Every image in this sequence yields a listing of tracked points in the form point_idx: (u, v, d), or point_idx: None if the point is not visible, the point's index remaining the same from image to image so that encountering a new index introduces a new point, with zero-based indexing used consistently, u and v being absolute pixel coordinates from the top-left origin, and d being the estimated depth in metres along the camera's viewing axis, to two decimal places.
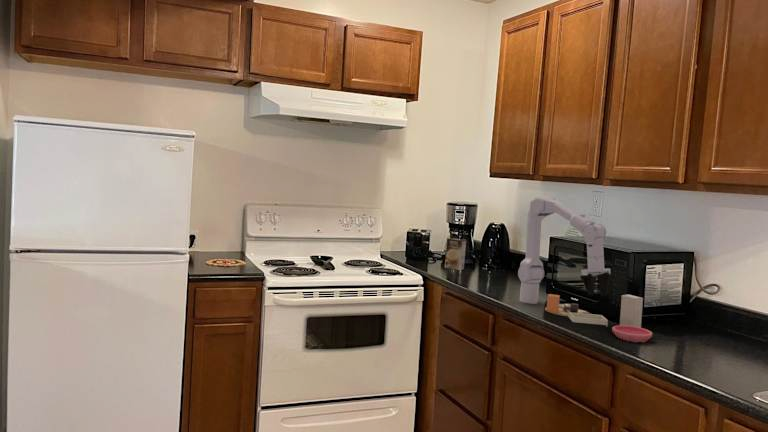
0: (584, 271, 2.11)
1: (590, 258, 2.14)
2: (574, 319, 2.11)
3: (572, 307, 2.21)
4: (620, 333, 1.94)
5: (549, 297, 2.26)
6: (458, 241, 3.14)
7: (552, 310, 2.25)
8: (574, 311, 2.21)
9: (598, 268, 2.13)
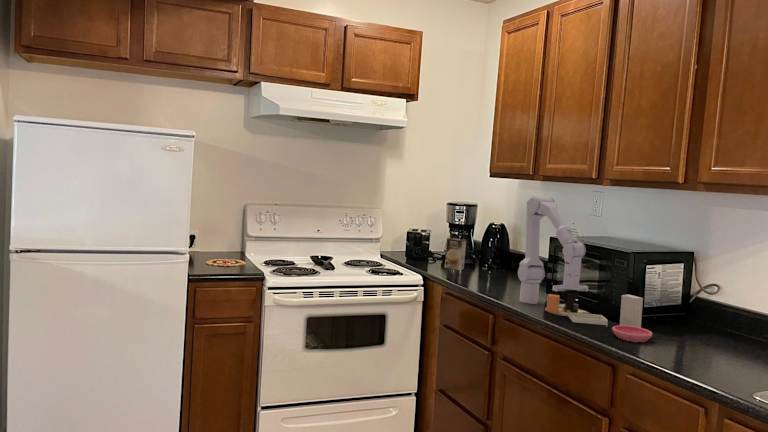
0: (554, 287, 2.18)
1: (565, 275, 2.20)
2: (574, 319, 2.11)
3: (572, 307, 2.21)
4: (620, 333, 1.94)
5: (549, 297, 2.26)
6: (458, 241, 3.14)
7: (552, 310, 2.25)
8: (574, 311, 2.21)
9: (570, 286, 2.18)
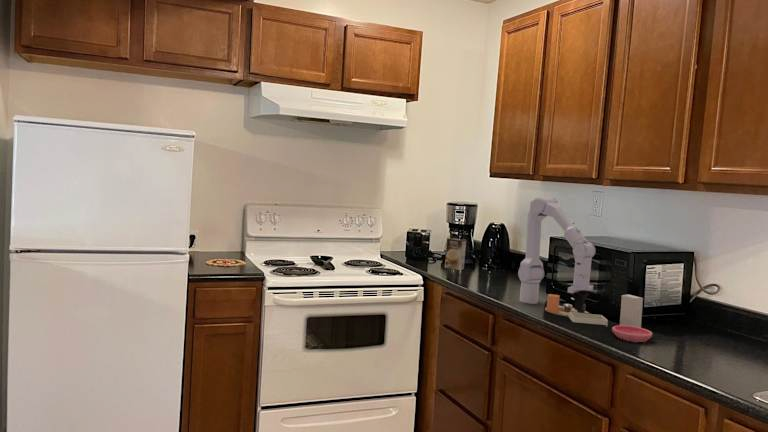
0: (570, 289, 2.16)
1: (577, 276, 2.19)
2: (574, 319, 2.11)
3: None
4: (620, 333, 1.94)
5: (549, 297, 2.26)
6: (458, 241, 3.14)
7: (552, 310, 2.25)
8: (583, 311, 2.22)
9: (583, 286, 2.18)
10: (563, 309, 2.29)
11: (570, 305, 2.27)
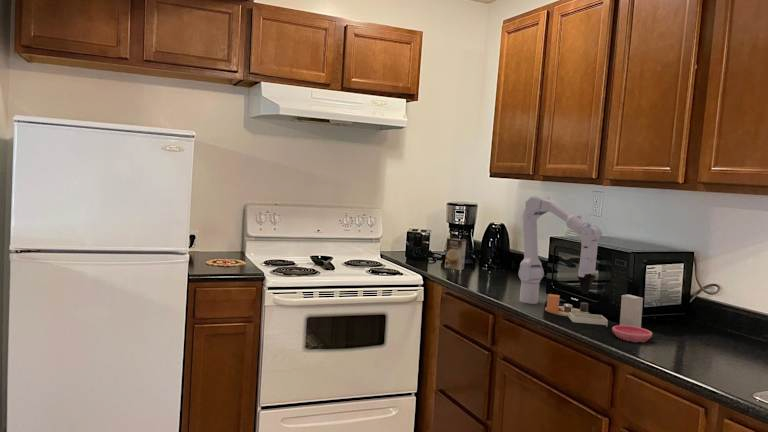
0: (582, 273, 2.16)
1: (585, 259, 2.19)
2: (574, 319, 2.11)
3: (586, 306, 2.24)
4: (620, 333, 1.94)
5: (549, 297, 2.26)
6: (458, 241, 3.14)
7: (552, 310, 2.25)
8: (587, 310, 2.24)
9: (591, 270, 2.19)
10: (562, 309, 2.29)
11: (571, 305, 2.27)
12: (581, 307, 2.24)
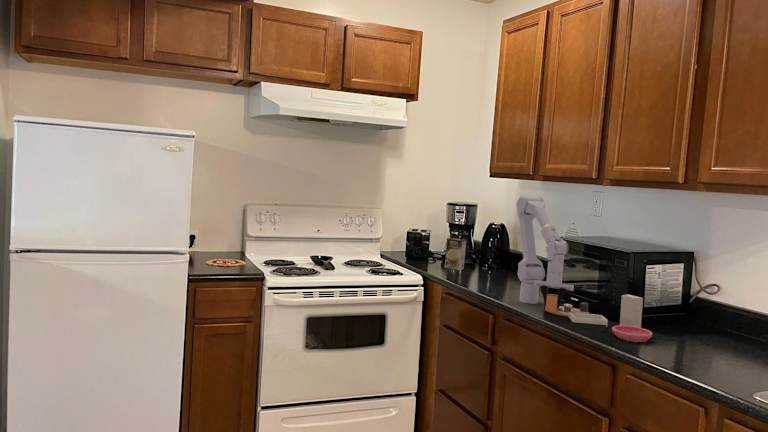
0: (534, 282, 2.29)
1: None
2: (574, 319, 2.11)
3: (586, 306, 2.24)
4: (620, 333, 1.94)
5: (548, 297, 2.26)
6: (458, 241, 3.14)
7: (551, 310, 2.26)
8: (587, 310, 2.24)
9: (548, 282, 2.25)
10: (562, 309, 2.29)
11: (571, 305, 2.27)
12: (581, 307, 2.24)
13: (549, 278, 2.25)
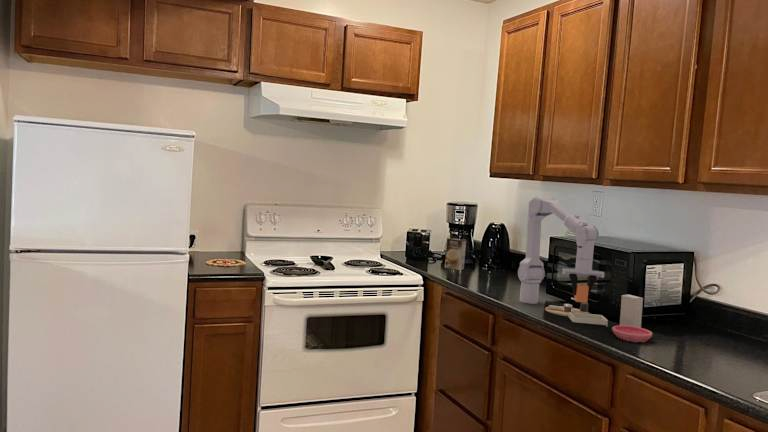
0: (562, 270, 2.17)
1: (576, 258, 2.16)
2: (574, 319, 2.11)
3: (586, 306, 2.24)
4: (620, 333, 1.94)
5: (579, 287, 2.14)
6: (458, 241, 3.14)
7: (582, 300, 2.15)
8: (587, 310, 2.24)
9: (579, 270, 2.14)
10: (562, 309, 2.29)
11: (571, 305, 2.27)
12: (581, 307, 2.24)
13: (580, 265, 2.14)
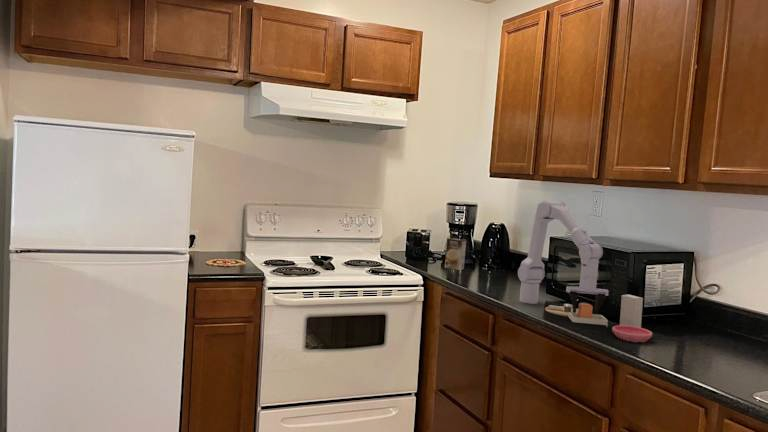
0: (567, 288, 2.15)
1: (580, 276, 2.14)
2: (574, 319, 2.11)
3: None
4: (620, 333, 1.94)
5: (583, 307, 2.13)
6: (458, 241, 3.14)
7: None
8: None
9: (584, 288, 2.12)
10: (562, 309, 2.29)
11: (571, 305, 2.27)
12: None
13: (585, 284, 2.12)
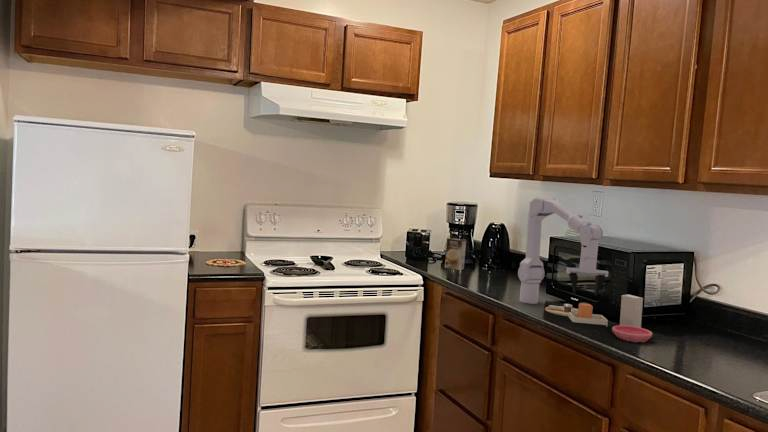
0: (567, 269, 2.17)
1: (580, 258, 2.16)
2: (574, 319, 2.11)
3: None
4: (620, 333, 1.94)
5: (583, 307, 2.13)
6: (458, 241, 3.14)
7: None
8: None
9: (584, 269, 2.14)
10: (562, 309, 2.29)
11: (571, 305, 2.27)
12: None
13: (585, 265, 2.14)
